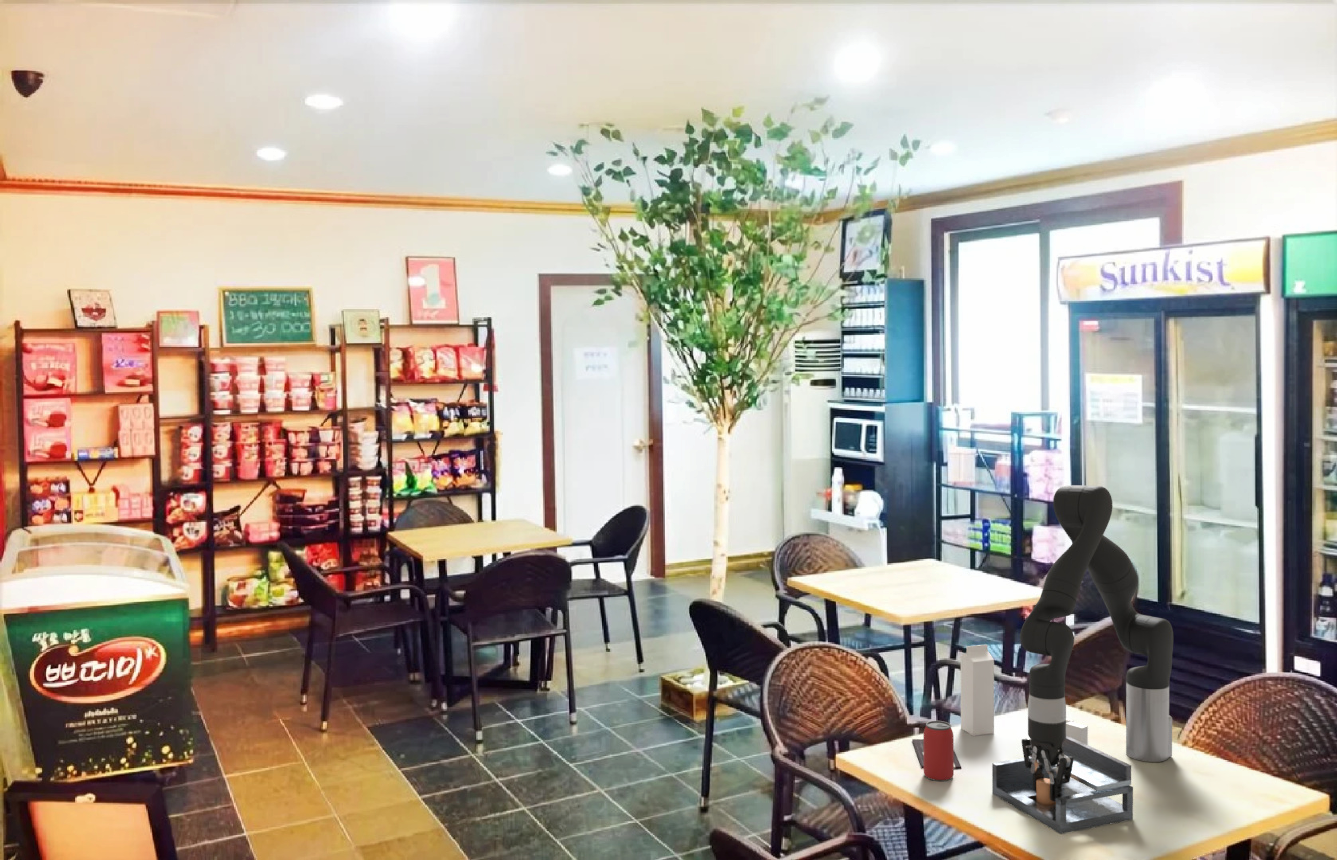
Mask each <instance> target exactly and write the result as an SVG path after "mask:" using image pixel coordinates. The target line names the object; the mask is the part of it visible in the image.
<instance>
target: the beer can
mask: <svg viewBox="0 0 1337 860" xmlns="http://www.w3.org/2000/svg"><path fill="white" fill-rule="evenodd" d="M923 739H924V768H923V774H924V776H925V777H926V778H927V779H929V780H932V781H936V782H937V781H938V782H942V781H943V782H944V781H948V780H951V779H952V778H953V777H954V771H955V769H954V751H955V749H954V732H953V730H952V725H951V724H950V723H949V722H947V721H942V720H930V721H927V722H926V723H925V727H924V730H923Z"/></svg>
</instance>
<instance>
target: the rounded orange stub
mask: <svg viewBox="0 0 1337 860" xmlns="http://www.w3.org/2000/svg"><path fill="white" fill-rule="evenodd" d="M1050 783H1051V782H1050V779H1047V778H1041V779H1037V780H1036V802H1037V803H1039V804H1041V805H1042V806H1044V807H1045V806H1051V805H1056V801H1052V800H1050Z"/></svg>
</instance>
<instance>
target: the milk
mask: <svg viewBox="0 0 1337 860" xmlns="http://www.w3.org/2000/svg"><path fill="white" fill-rule="evenodd" d="M960 729H961V730H963V731H964V732H966V733H968V734H969V735H971V736H973V737H975V736H983V735H991V734H994V733H995V659H994V658H993V656H992V655H991V653H990V652H989V650H988V644H979V645H968V646H966V652H964V654H962V655H960Z"/></svg>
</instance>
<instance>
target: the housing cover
mask: <svg viewBox="0 0 1337 860" xmlns="http://www.w3.org/2000/svg"><path fill="white" fill-rule="evenodd" d="M1062 748H1063V752H1064V754H1065V755H1066V756H1067V757H1073V760H1074V761H1073V766H1072V771H1071V776H1070V778H1072V779H1074V780H1076V781H1078V782H1080V783H1081V784H1083V785H1085V786H1087V787H1089V788H1091V789H1093V790H1095V791H1100V790H1106V789H1111V788H1116V787H1122V786H1127V785H1130V786H1131V785H1132V765H1131V764H1130V763H1127V762H1124V761H1122V760H1120V759H1118V758H1117V757H1114V756H1112V755H1110V754H1107V753H1105V752H1103V751H1101V750H1099V749H1096V748H1095V747H1092V746H1090V745H1089V744H1088V745H1086V744H1084V743H1082V742H1080V741H1077V740H1075V739H1073V738H1071V737H1069V736H1067V735H1066V739H1065V740H1064V741H1063V743H1062ZM1029 757H1032V756H1031V755H1030V756H1029ZM1056 766H1057V764H1056V765H1053V766H1051V768H1054V767H1056Z"/></svg>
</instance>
